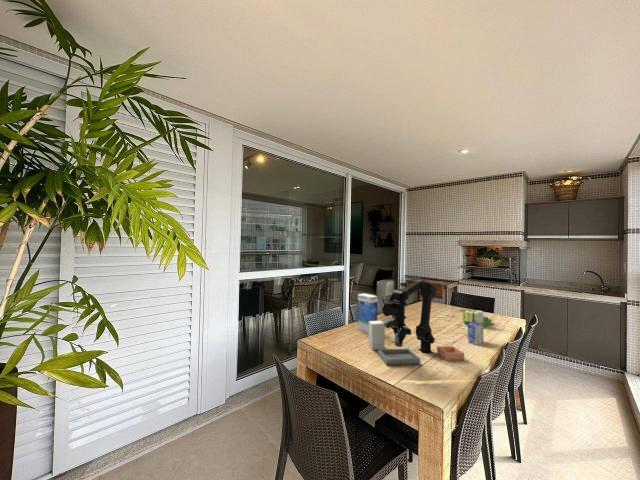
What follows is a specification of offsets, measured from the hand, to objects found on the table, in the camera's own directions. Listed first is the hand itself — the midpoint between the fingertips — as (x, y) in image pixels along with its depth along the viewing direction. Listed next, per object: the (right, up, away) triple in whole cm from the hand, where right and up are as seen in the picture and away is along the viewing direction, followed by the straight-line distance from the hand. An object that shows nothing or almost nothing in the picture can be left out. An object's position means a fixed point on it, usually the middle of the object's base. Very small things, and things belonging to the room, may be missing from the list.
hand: (398, 342), depth 151 cm
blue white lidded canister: (-9, -10, +48) cm, 50 cm away
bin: (+30, -10, +5) cm, 32 cm away
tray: (0, -9, 0) cm, 9 cm away
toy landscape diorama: (+84, -12, +73) cm, 112 cm away
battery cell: (0, -2, 0) cm, 2 cm away
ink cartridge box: (+58, -11, +29) cm, 66 cm away
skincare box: (-9, -9, +16) cm, 21 cm away
